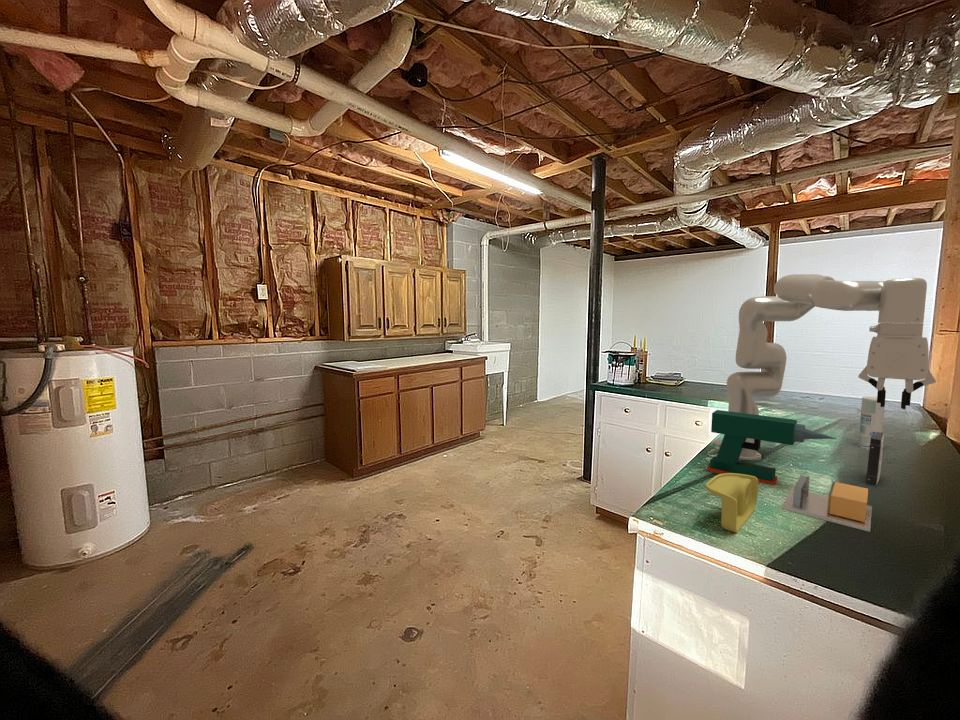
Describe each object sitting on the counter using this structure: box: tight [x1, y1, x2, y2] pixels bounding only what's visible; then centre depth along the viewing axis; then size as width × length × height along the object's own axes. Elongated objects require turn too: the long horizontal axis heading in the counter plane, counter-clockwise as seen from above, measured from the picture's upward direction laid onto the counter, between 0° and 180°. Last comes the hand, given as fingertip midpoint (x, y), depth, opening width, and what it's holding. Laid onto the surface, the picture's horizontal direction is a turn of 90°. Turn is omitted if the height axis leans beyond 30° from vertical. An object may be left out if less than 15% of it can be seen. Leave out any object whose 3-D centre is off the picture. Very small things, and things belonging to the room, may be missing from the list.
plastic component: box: [705, 473, 759, 534], centre depth 104 cm, size 20×7×10 cm, turn 134°
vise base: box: [781, 474, 873, 533], centre depth 108 cm, size 17×16×6 cm
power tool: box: [707, 409, 838, 486], centre depth 127 cm, size 32×7×20 cm, turn 47°
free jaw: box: [827, 481, 869, 522], centre depth 105 cm, size 7×12×5 cm, turn 135°
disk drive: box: [865, 432, 885, 486], centre depth 127 cm, size 10×3×15 cm, turn 133°
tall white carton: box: [858, 396, 885, 450], centre depth 159 cm, size 6×6×20 cm
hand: (892, 406), depth 98 cm, fingers open, 3 cm apart
